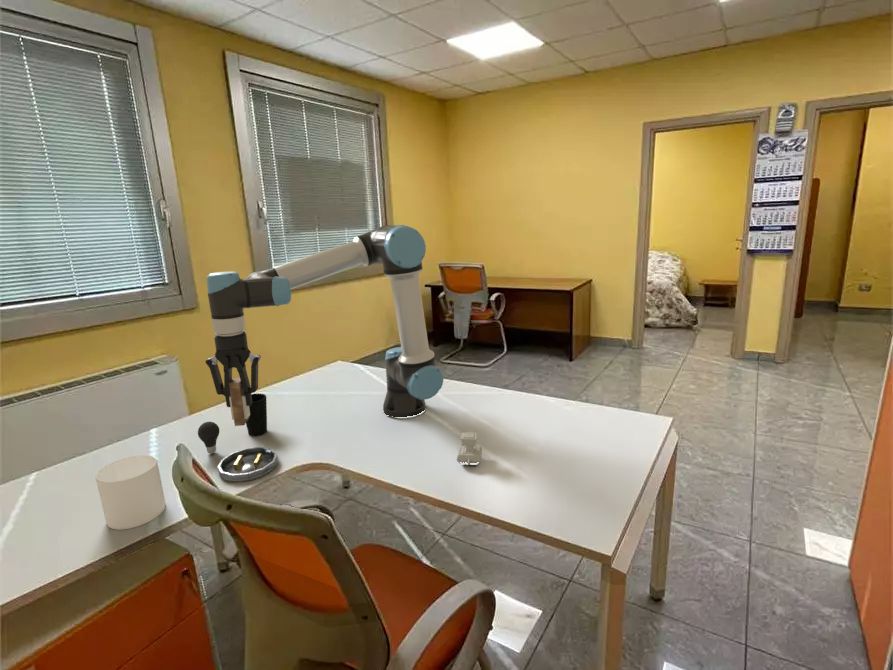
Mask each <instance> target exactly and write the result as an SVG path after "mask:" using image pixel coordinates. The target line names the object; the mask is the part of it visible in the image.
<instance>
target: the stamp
mask: <svg viewBox="0 0 893 670" xmlns="http://www.w3.org/2000/svg"><path fill="white" fill-rule="evenodd" d="M460 441H461V444H460V445H459V446H458V451H457V455H456V456H457V457H456V461H457V462H458V463H459V462H462V463H463V462H464V463H465V462H467V463H468V465H470V463H477V462H479V464H480V463H481V462H482V451H483V447H482V445H477V444H478V438H477V432H461V435H460Z"/></svg>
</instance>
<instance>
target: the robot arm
mask: <svg viewBox="0 0 893 670" xmlns="http://www.w3.org/2000/svg"><path fill="white" fill-rule="evenodd" d="M426 247H427V246H426V242H425V239H424V237H423V235H422V234H421V233H420V232H419V231H418V230H417V229H415V228H413V227H411V226H408V225H404V224H402V225H400V224H398V225H397V224H396V225H390V224H389V225H388V224H387V225H382V226H379V227H377V228H374V229H372V230H370V231H368V232H365V233H362V234H360V235H359V234H358V235H357V236H355V237H354V238H353V239H352V241H350V242H347V243H344V244H340V245H338V246H335V247H331V248H328V249H325V250H322V251H320V252H317V253H313V254H310V255H307V256H305V257H301V258H298V259H295V260H292V261H290V262H289V261H288V262H287V263H283V264H281V265H280V264H279V265H277V266H274V267H273V268H272V267H271V268H269V269H266V270H261V271H254V272H252V273H250V274H249V275H248V276H247V278H241V277H240V274H239V273H238V272H237V271H217V272H216V271H215V272H211V273H208V274H207V275H206V289H207V296H208V297H207V299H208V305H209V308H210V309H209V310H210V315H211V316H210V317H211V324H212V325H211V326H212V332H213V333H214V334H215V335H214V336H213V339H214V344H215V345H214V347H215V350H216V351H215V354H214V356H210V357H209V358H207V359H206V360H205V365H207V367H208V368H209V371H210V374H211V377H212V381H213V385H214V388H215V393H216V394H217V395H219V396H220V395H222V396H224V397H225V405H226V408H230V414H231V419H232V420H233V421H234V417H233V409H232V402H231V395H230V387H229V383H230V382H231V381H232V380H233V368H234V369H236V371H237V373H238V376H239V377H240V380H241V384H242V387H243V391H244V394H243V395H242V403H243V411H244V418H245V419H248V417H249V416H250V409H249V406H251V404H252V396H251V394H255V392H256V391H257V390H258V389H259V362H260V360H261V355H260V354H257V355H256V354H254V353H252V352H251V351H250V349H249V345H248V338H247V337H248V336H247V332H246V331H245V330H246V320H245V313H244V309H251V308H263V307H264V308H265V307H275V306H276V307H279V306H283V305H288V304H290V303H291V300H292V290H294V289H295V288H299V287H302V286H304V285H308V284H311V283H313V282H316V281H319V280H322V279H324V278H327V277H330V276H332V275H336V274H338V273H341V272H345V271H348V270H351V269H353V268H356V267H359V266H363V267H368V266H372V265H374V264H382V270H383V275H384V276H386V277H387V279H389V280H390V286H391V291H392V293H391V294H392V299H393V304H394V311H395V316H396V323H397V330H398V335H399V340H400V341H399V342H400V346H399V347H393V348H390V349H388V350H386V352H385V358H384V361H385V373H386V374H385V375H386V394H385V398H384V401H383V404H382V407H383V408H382V410H383V411H384V412H383V414H384V413H385V414H386V415H389V416H393V417H407V416H413V415H417V414H419V413H421V412H422V411H424V410H425V408H426V409H427V406H426V405H427V404H426V400H429V399H432V398H433V397H434V396H436V395H437V394H438V393H439V391H440V390H441V389H442V387H443V385H444V374H443V371H442V370H441V369H440V368H439V367H438V366H437V361H436V355H435V352H434V351H433V350H432V349H430V348H429V347H430V346H429V339H428V333H427V325H426V318H425V312H424V304H423V298H422V292H421V291H422V290H421V283H420V277H419V276H420V274H421V272H422V271H423V262H422V261H424V260H423V259H424V258H425V256H426V251H427V250H426ZM248 359H249V362H250V363H251V365H250V366H251V367H250V373H251V374H250V380H249V376H248V371H247V367H246V366H247V365H246V362H247V361H248ZM218 363H221V365H222V367H223V374H224V375H223V378H222V374H221V371H220V368H219V364H218ZM223 381H224V382H223ZM425 411H426V410H425ZM385 414H384V415H385ZM386 415H385V416H386Z"/></svg>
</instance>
